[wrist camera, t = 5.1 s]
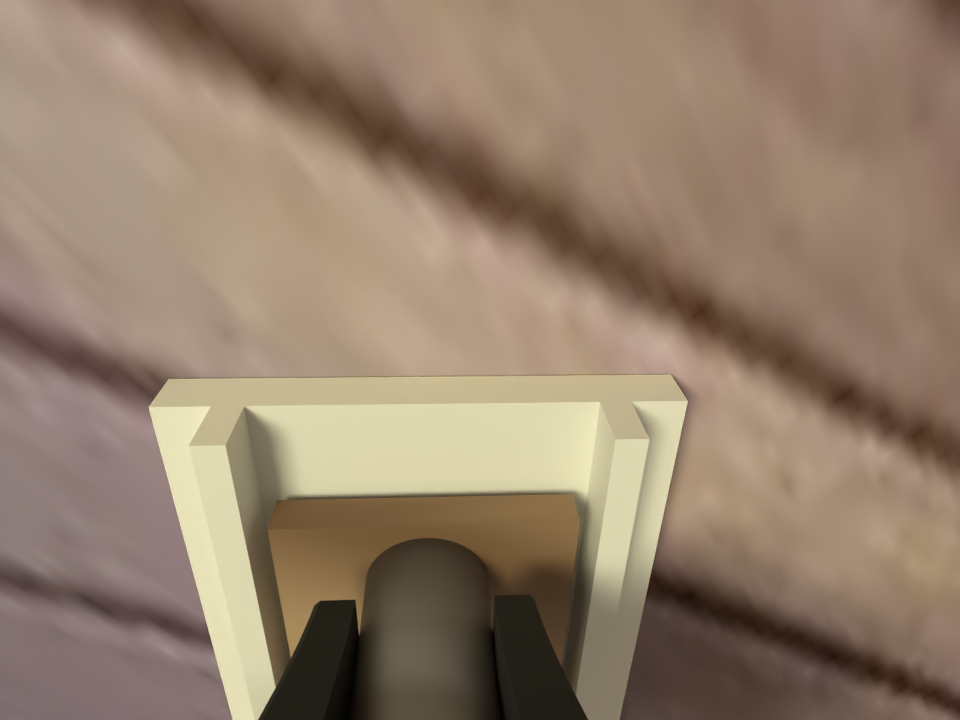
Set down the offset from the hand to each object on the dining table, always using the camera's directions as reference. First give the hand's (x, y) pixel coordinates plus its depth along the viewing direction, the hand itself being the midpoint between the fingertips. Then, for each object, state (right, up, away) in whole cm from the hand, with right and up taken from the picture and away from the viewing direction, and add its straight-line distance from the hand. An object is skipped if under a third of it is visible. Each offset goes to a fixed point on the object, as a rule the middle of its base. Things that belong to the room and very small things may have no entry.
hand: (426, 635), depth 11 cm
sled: (0, -5, +5) cm, 7 cm away
